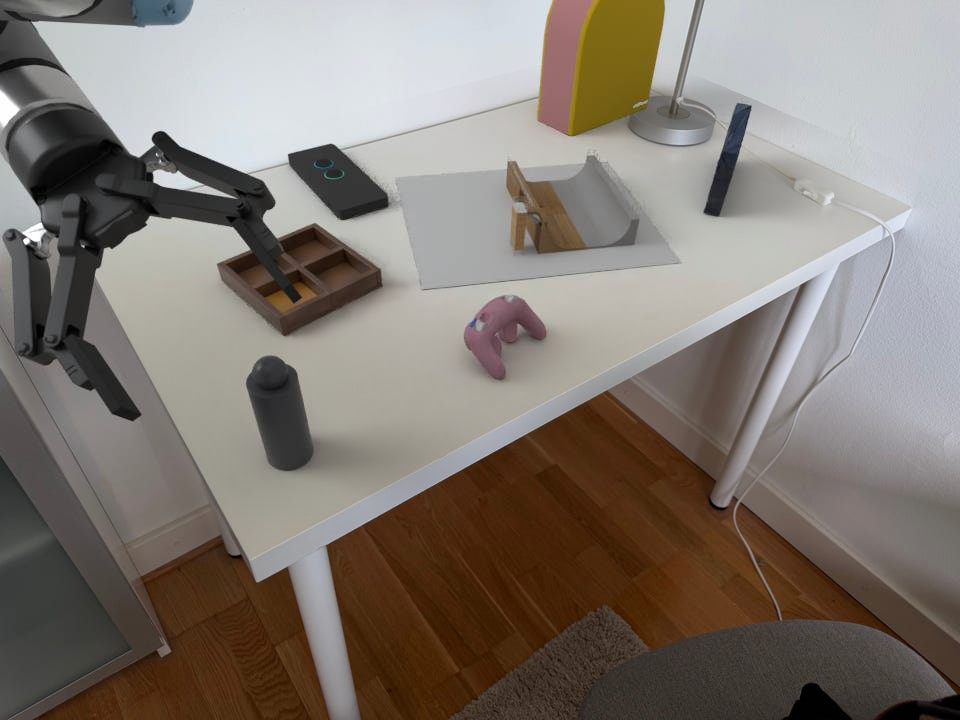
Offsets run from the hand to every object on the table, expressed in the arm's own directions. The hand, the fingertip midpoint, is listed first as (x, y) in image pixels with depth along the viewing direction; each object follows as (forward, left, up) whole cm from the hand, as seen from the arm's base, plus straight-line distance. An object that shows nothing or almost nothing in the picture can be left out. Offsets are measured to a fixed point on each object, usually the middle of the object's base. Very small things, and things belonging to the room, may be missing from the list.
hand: (212, 353), depth 47 cm
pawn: (+6, +5, -20) cm, 22 cm away
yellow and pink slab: (+91, +37, -20) cm, 100 cm away
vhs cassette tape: (+84, +6, -20) cm, 86 cm away
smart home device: (+40, +46, -20) cm, 64 cm away
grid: (+22, +28, -20) cm, 41 cm away
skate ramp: (+55, +20, -20) cm, 62 cm away
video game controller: (+32, +2, -20) cm, 38 cm away
